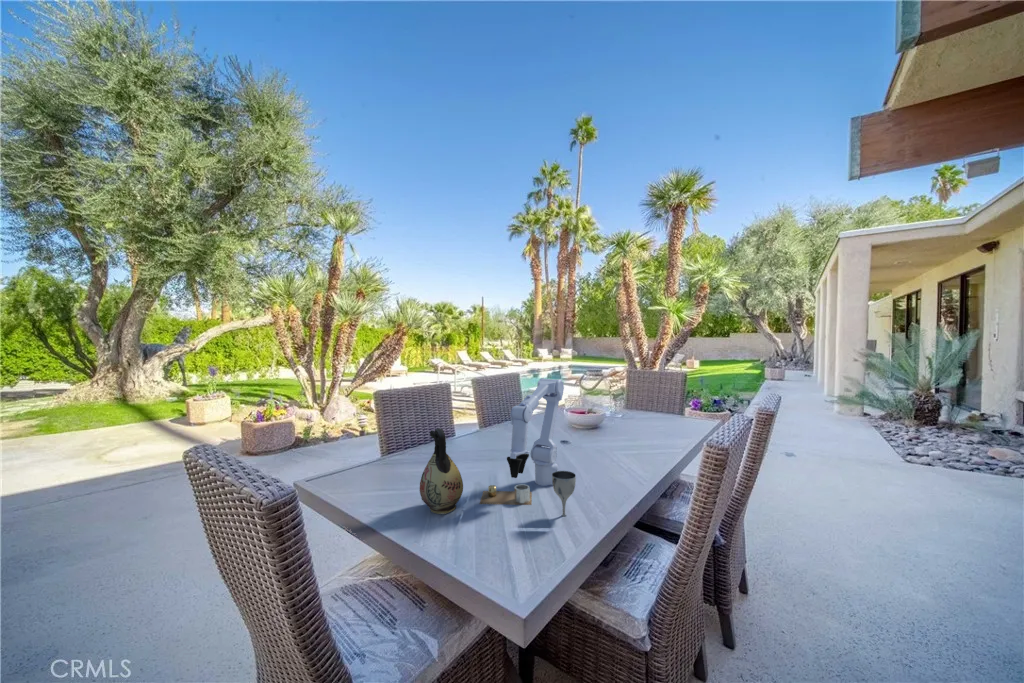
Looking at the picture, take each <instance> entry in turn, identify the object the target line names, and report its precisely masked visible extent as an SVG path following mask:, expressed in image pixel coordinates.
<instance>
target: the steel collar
mask: <svg viewBox="0 0 1024 683" xmlns="http://www.w3.org/2000/svg"><path fill="white" fill-rule="evenodd" d="M513 488H514V491H515V502H516V503H519V504H526V503H528V502H530V492H531V490H530V485H529V484H524V483H523V484H517V485H514V487H513Z"/></svg>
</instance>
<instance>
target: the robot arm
mask: <svg viewBox="0 0 1024 683" xmlns="http://www.w3.org/2000/svg"><path fill="white" fill-rule="evenodd" d="M564 390H565V386H564V382H563V380H562V379H560V378H559V379H552V378H544V377H543V378H542V377H541V378H540V379H539V380H538V381H537V387H536V388H535V389H534V391H533V392H532V394H526V397H525V398H524V399H523V400H522V401H521V402H520V403H519V404H518V405H514V406H513V407H512V408H511V410H510V413H509V416H510V420H511V421H510V422H511V423H510V424H511V425H512V429H511V431H512V432H511V444H510V446H511V447H510V448H511V449H510V453H509V454H510V456H506V461H507V462H508V463H507V464H508V466H509V472H510V477H511V478H512V479H513V478H514V479H517V478H518V477H519V474H524V470H525V466H526V463H527V460H528V459H529V457H530V458H531V460H532V462H533V464H534V479H533V481H534V482H535V484H536V485H538V486H544V487H545V486H553V484H552V473H553V472H556V471H558V463H556V461H557V458H558V453H557V452H558V451H557V450H558V446H557V445H556V443H555V442H554V441H553V436H554V431H555V426H556V421H557V414H558V408H559V404H560V403H559V402H560V401H562V400H563V395H564ZM542 399H544V400H545V401H546V405H545V411H544V414H543V415H544V416H543V421H542V425H541V431H540V436H539V438H538V439H536V440H535V441H534V442H533V445H532V447H531V449H530V450H527V448H528V447H527V443H528V432H529V431H528V428H529V422H530V421H531V419H532V416H533V414H534V411H535V410H536V409H537V407H538V406H539V404H540V402H539V401H540V400H542Z"/></svg>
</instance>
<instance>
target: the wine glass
mask: <svg viewBox="0 0 1024 683" xmlns="http://www.w3.org/2000/svg"><path fill="white" fill-rule="evenodd" d="M576 479H577V477H576V473H575V472H573V471H569V470H557V471H556V472H553V473H552V484H553V485H552V487H553V491H554V493H555V495H557V496H558V498H559V500H560V501H561V505H562V514H561V517H564V518H565V517H567V514H566V504H567V501H568V499H569V498H570V497H571V496H572V495H573V494H574V491H575V488H576V482H577V480H576Z"/></svg>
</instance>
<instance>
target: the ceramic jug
mask: <svg viewBox="0 0 1024 683" xmlns="http://www.w3.org/2000/svg"><path fill="white" fill-rule="evenodd" d="M429 434H430V437H431V438H432V439H433V441H434V451H433V453H432V456H431V457H430V459H429V460H428V462H427V464H426V465H425V467H424V470H423V472H422V474H421V476H420V481H419V494H420V497H421V501H422V502H423V503H424V504H425V505H427V507H428V508H429V511H430V510H431V511H430V512H431V513H432V512H433V514H436V515H446V514H449V513H451V512H453V511H455V510H456V507H457V503H458V502H459V501H460V499H461V497H462V494H463V491H464V481H463V477H462V474H461V472H460V470H459V467H458V466H457V465H456V463H455V461H454V460H453V459H452V457H450V455H449V454H448V453H447V440H446V432H445V431H444V430H443V428H439V427H438V428H436V429H435V430H430V432H429Z"/></svg>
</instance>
